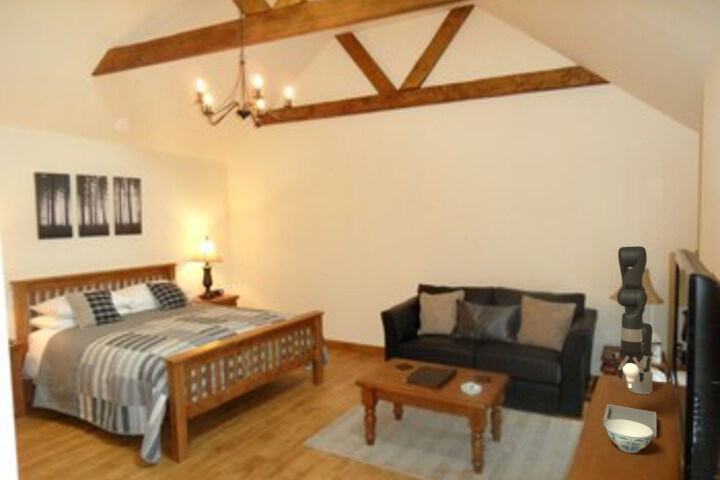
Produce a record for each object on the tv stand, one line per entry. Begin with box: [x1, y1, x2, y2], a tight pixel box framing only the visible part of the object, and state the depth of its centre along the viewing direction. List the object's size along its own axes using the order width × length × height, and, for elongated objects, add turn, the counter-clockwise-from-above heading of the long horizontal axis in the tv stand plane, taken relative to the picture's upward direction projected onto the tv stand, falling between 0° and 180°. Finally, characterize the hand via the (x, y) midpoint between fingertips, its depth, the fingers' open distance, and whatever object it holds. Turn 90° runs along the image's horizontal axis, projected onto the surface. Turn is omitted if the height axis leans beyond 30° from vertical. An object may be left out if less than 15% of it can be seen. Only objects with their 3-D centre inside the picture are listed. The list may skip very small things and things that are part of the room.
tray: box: [602, 403, 657, 439], centre depth 198 cm, size 18×18×4 cm
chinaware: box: [605, 419, 653, 454], centre depth 178 cm, size 15×15×8 cm
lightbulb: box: [622, 363, 640, 390], centre depth 198 cm, size 6×6×11 cm
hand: (630, 380), depth 198 cm, fingers closed on lightbulb, 6 cm apart
